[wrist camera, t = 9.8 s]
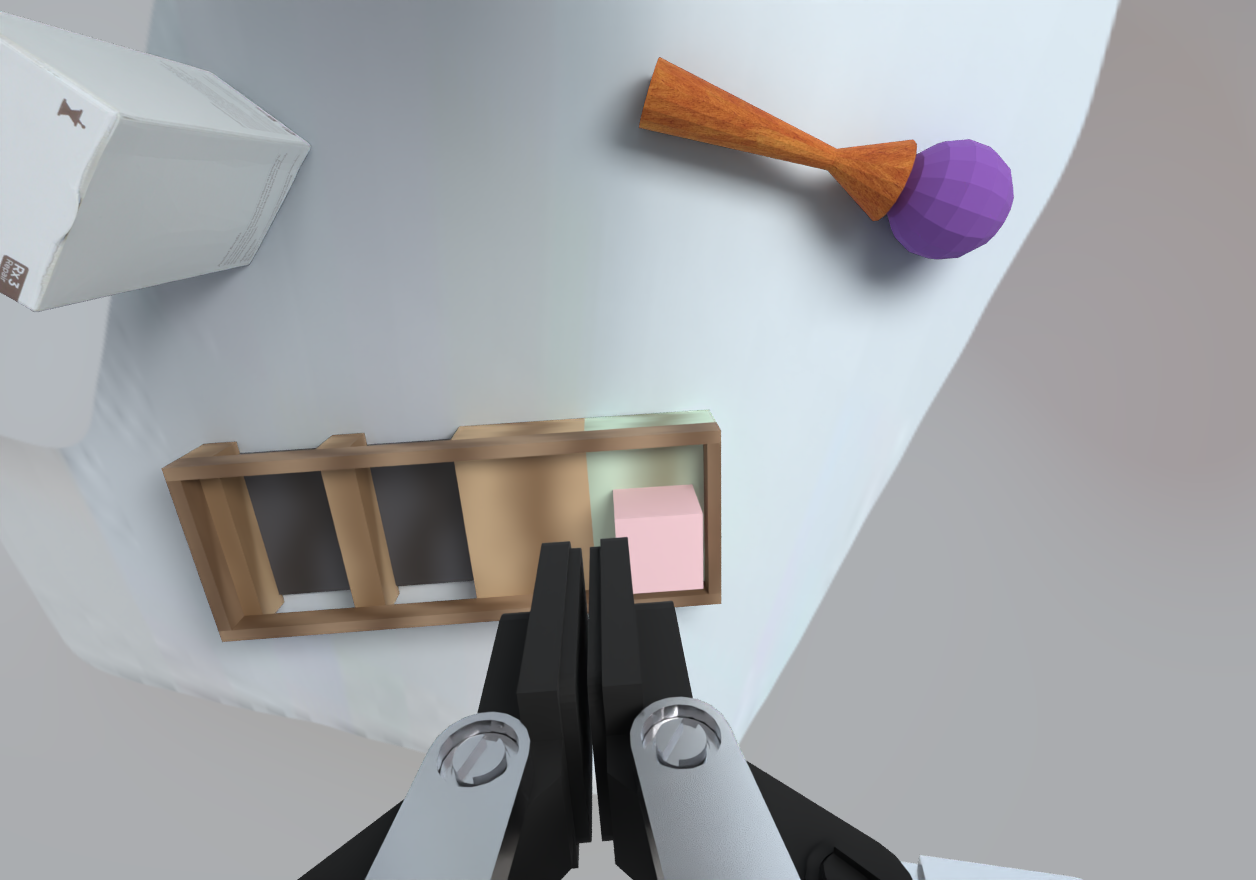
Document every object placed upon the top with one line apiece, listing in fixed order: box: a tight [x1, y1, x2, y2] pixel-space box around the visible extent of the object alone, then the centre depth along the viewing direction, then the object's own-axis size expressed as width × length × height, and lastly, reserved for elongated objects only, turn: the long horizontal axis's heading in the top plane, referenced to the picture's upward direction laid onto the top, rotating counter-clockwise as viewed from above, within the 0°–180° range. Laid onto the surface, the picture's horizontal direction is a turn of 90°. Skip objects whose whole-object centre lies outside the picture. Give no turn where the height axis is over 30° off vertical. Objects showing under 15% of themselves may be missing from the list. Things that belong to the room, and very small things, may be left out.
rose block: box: [613, 484, 703, 594], centre depth 37 cm, size 5×5×4 cm
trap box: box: [162, 410, 721, 642], centre depth 39 cm, size 32×12×4 cm, turn 93°
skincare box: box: [0, 11, 311, 312], centre depth 26 cm, size 8×6×15 cm
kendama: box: [639, 57, 1014, 259], centre depth 32 cm, size 6×6×20 cm
